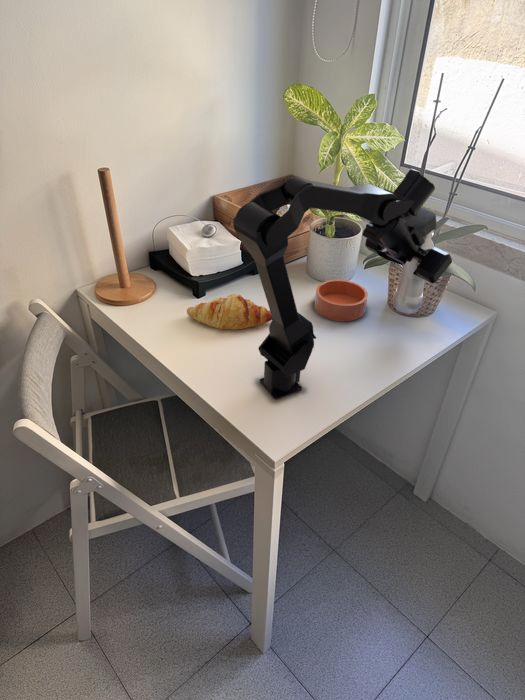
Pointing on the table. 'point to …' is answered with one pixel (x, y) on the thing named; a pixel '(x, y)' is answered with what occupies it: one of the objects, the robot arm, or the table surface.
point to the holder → (340, 300)
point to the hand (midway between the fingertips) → (419, 270)
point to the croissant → (230, 313)
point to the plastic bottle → (411, 284)
